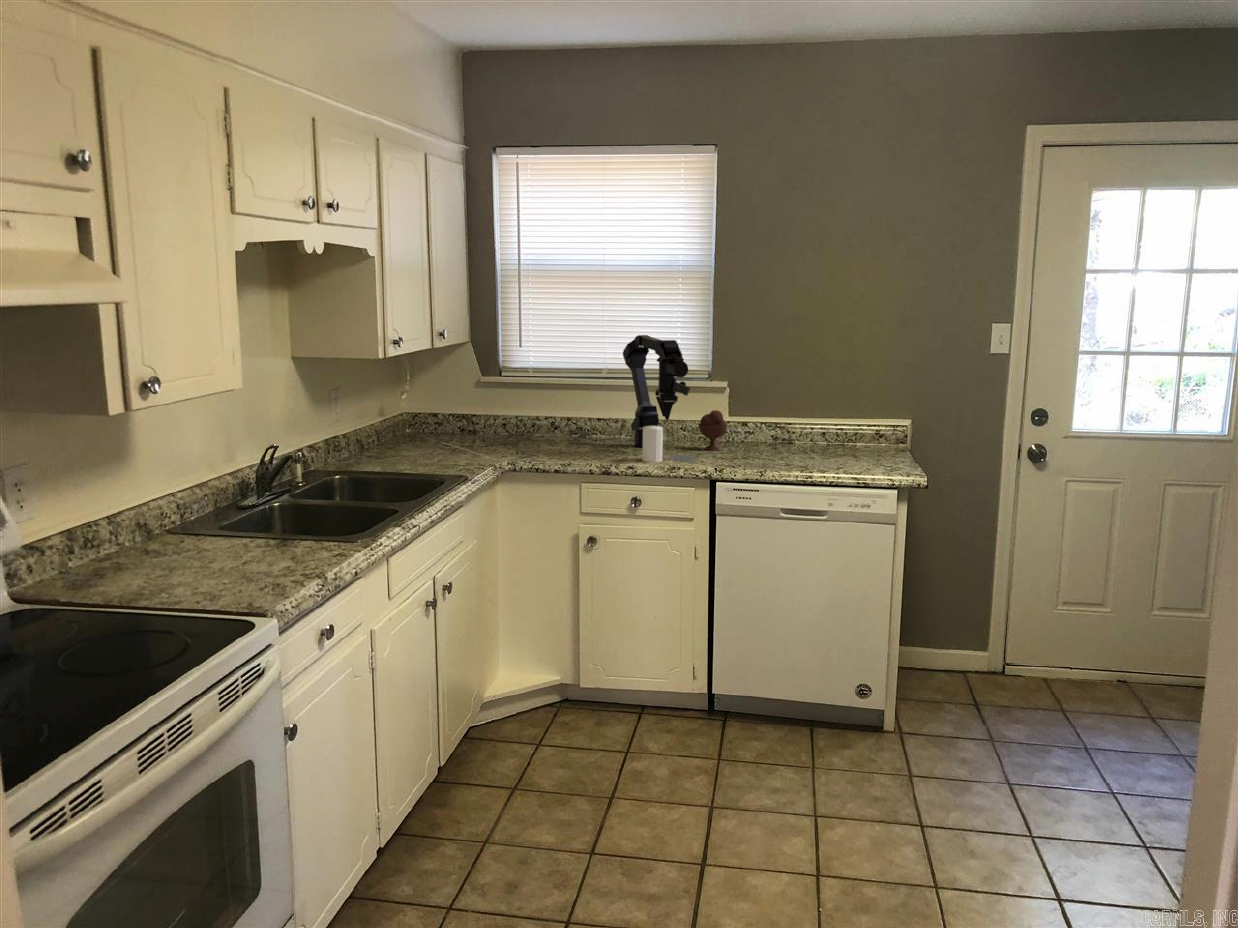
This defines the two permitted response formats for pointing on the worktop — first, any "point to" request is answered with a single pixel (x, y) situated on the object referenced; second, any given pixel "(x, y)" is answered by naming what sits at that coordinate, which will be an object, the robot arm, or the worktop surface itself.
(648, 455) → the tumbler
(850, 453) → the worktop surface
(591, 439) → the worktop surface
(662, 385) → the robot arm
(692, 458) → the mat
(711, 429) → the ice cream bowl
